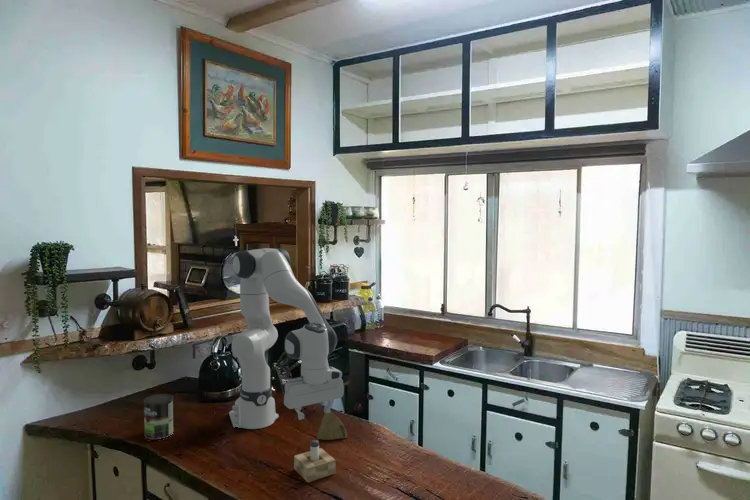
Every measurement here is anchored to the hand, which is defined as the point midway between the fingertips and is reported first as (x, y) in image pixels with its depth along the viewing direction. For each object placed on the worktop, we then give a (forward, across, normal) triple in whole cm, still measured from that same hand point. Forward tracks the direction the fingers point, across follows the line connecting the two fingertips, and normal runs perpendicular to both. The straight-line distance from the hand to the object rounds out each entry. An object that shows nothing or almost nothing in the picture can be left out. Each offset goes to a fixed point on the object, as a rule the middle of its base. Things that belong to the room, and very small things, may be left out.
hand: (314, 415), depth 161 cm
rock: (+19, +17, +18) cm, 31 cm away
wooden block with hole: (+19, 0, 0) cm, 19 cm away
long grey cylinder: (+19, 0, 0) cm, 19 cm away
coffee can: (+20, -37, +56) cm, 70 cm away
